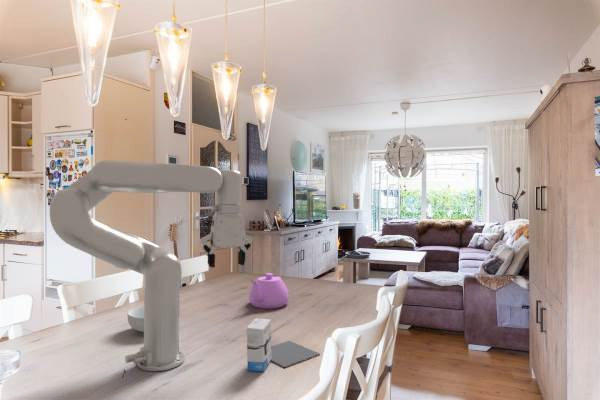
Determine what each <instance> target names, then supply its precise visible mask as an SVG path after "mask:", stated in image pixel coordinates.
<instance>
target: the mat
mask: <svg viewBox="0 0 600 400" xmlns="http://www.w3.org/2000/svg"><path fill="white" fill-rule="evenodd" d="M271 355H272V359H271V360H270V362H271V361H272V363H273V362H274V364H275V363H276V365H277V364H278V365H277V366H279V365H280V366H279V367H281V366H282V367H281V368H283V367H287V366H289V367H291V366H290V365H292V366H294V365H296V364H295V363H297V362H300V361H302V362H304V361H303V360H305V359H308V358H310V359H312V358H311V357H313V358H315V357H314V356H316V357H318V356H320V355H321V353H319V352H317V351H314V350H312V349H311V348H308V347H305V346H303V345H300V344H298V343H296V342H293V341H291V340H287V341H284V342H281V343H278V344H275V345H271ZM317 355H318V356H317ZM308 360H309V359H308ZM305 361H306V360H305ZM300 363H301V362H300ZM293 364H294V365H293ZM297 364H298V363H297ZM287 368H288V367H287Z"/></svg>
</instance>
